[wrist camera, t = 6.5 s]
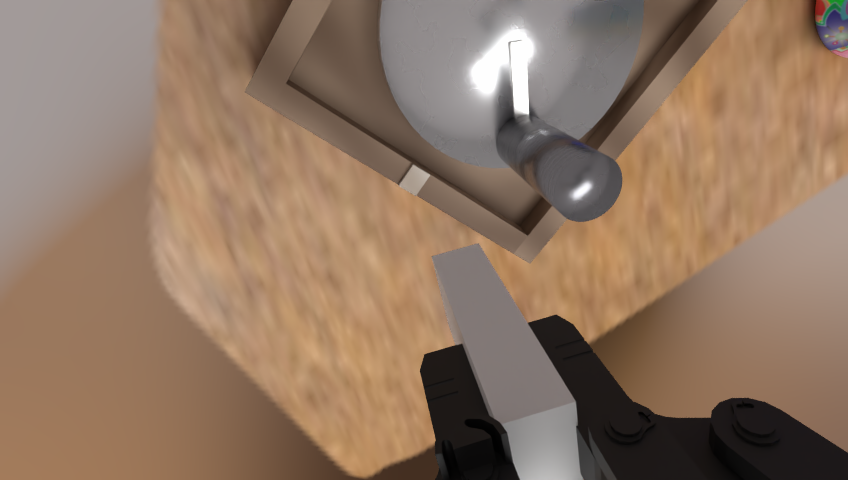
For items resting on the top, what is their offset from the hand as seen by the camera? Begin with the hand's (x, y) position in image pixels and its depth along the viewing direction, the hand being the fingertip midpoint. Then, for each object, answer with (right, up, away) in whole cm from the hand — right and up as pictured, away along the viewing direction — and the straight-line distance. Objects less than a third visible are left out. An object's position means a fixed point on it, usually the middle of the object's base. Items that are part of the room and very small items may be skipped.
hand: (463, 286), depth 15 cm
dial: (+3, +13, +11) cm, 17 cm away
